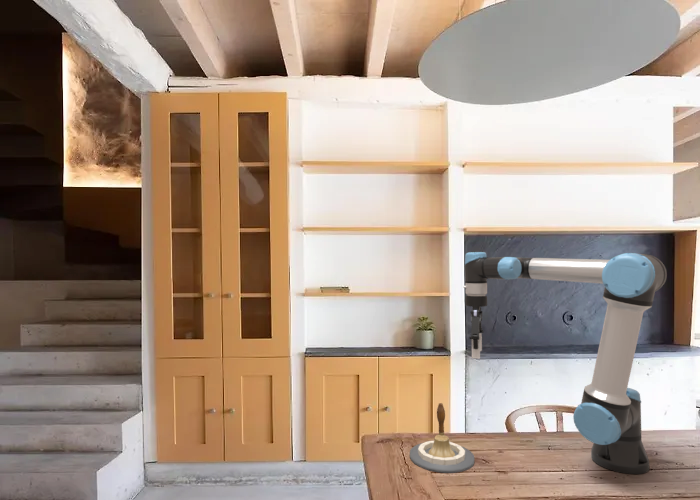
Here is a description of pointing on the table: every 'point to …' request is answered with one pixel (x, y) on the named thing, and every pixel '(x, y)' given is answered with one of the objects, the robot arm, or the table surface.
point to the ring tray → (442, 467)
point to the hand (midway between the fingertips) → (477, 354)
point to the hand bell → (441, 438)
